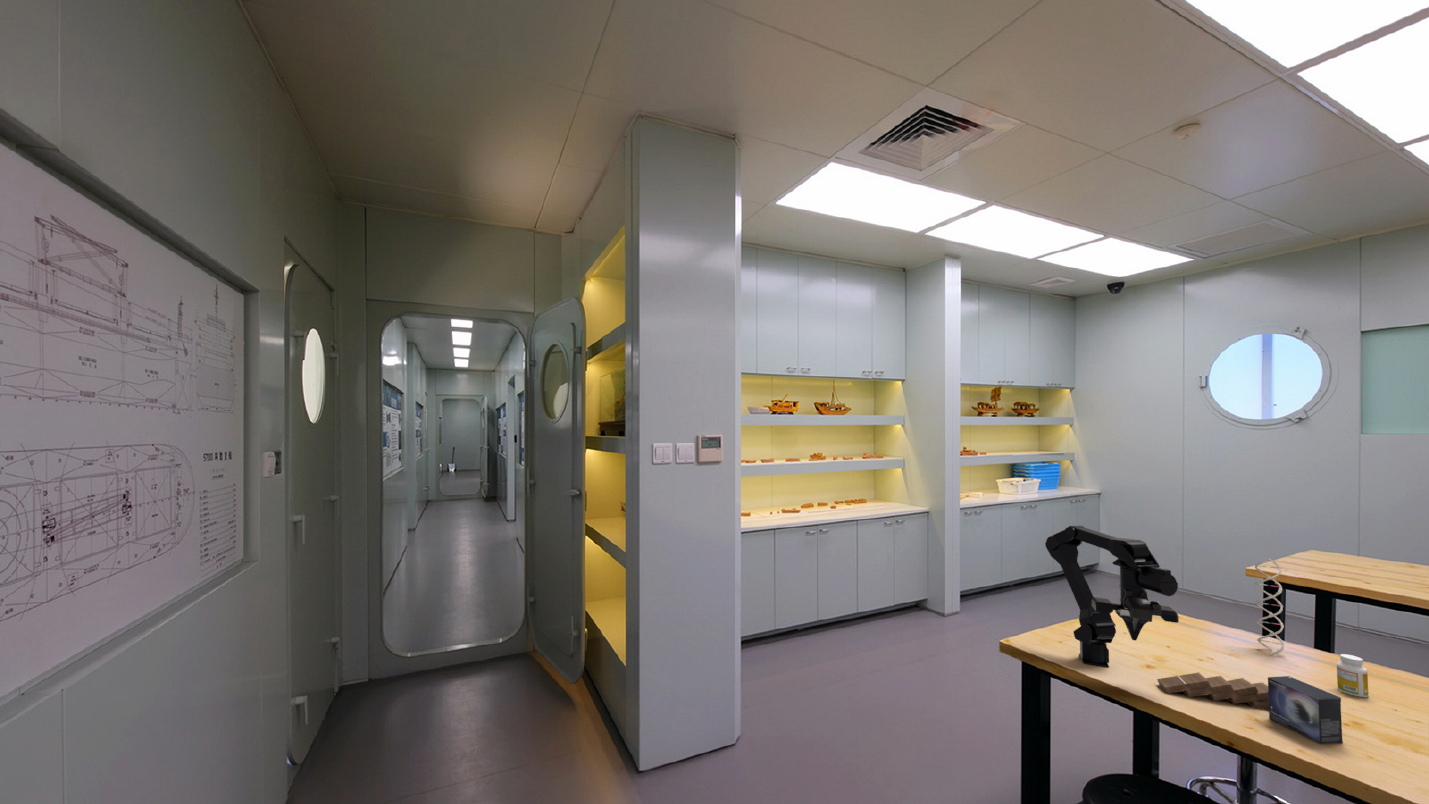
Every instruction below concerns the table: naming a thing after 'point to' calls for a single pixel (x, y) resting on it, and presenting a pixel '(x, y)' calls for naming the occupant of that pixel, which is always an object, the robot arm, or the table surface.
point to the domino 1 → (1183, 682)
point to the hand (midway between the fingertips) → (1133, 639)
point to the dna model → (1271, 604)
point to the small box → (1305, 709)
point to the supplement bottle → (1352, 676)
